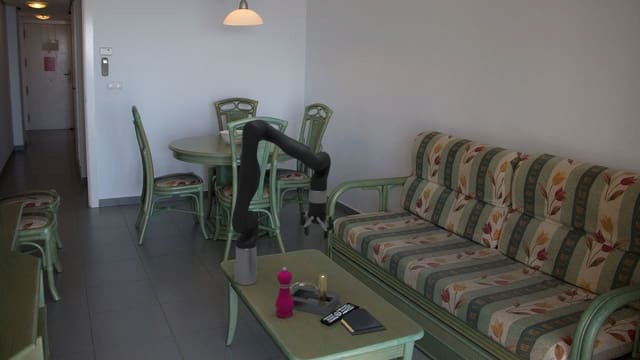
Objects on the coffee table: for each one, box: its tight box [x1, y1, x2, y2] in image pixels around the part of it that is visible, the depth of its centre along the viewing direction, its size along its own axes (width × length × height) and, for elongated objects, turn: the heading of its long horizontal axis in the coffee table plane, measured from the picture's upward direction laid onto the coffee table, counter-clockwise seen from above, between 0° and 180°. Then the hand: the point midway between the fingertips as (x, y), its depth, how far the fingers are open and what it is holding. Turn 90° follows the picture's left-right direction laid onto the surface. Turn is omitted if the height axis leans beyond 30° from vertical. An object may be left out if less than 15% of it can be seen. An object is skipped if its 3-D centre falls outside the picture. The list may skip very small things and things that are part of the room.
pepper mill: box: [274, 266, 294, 319], centre depth 223 cm, size 7×7×20 cm
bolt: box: [317, 273, 329, 302], centre depth 232 cm, size 6×6×14 cm
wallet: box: [340, 307, 387, 337], centre depth 221 cm, size 20×2×15 cm
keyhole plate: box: [290, 285, 341, 317], centre depth 234 cm, size 19×14×4 cm
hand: (316, 237), depth 236 cm, fingers open, 8 cm apart
